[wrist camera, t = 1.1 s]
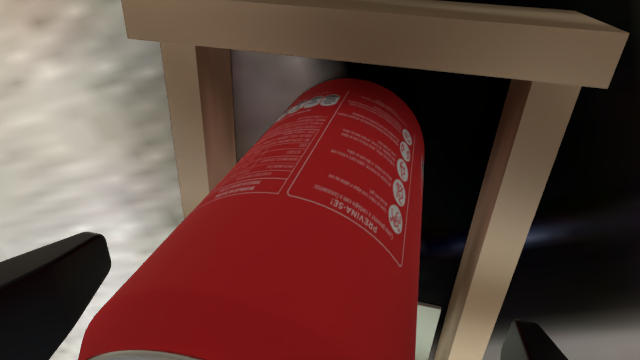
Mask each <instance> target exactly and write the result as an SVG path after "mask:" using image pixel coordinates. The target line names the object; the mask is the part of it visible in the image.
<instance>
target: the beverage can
mask: <svg viewBox="0 0 640 360" xmlns="http://www.w3.org/2000/svg"><path fill="white" fill-rule="evenodd" d="M423 175H424V139H423V134H422V131H421V128H420V125H419V123H418V121H417V119H416V117H415V115H414V114H413V112H412V111H411V109H410V108H409V107H408V106H407V105H406V103H405V102H404V101H403V100H402V99H400V98H399V97H398V96H397V95H396V94H394V93H393V92H391V91H390V90H388V89H386V88H385V87H383V86H380V85H378V84H376V83H373V82H370V81H366V80H361V79H353V78H342V79H334V80H329V81H326V82H323V83H320V84H318V85H316V86H314V87H312V88H310V89H309V90H307V91H306V92H304V93H303V94H302V95H301V96H300V97H298V98H297V100H296V101H295V102H294V103H293V104H292V105H291V106H290V107H289V108H288V109H287V110H286V111H285V112H284V113H283V114H282V116H281V117H280V118H279V119H278V120H277V121H276V122H275V123H274V124H273V125H272V126H271V127H270V128H269V129H268V131H267V132H266V133H265V134H264V135H263V136H262V137H261V138H260V139H259V140H258V141H257V142H256V143H255V144H254V146H253V147H252V148H251V149H250V150H249V151H248V152H247V153H246V154H245V155H244V156H243V157H242V158H241V159H240V161H239V162H238V163H237V164H236V165H235V166H234V167H233V168H232V169H231V170H230V171H229V172H228V173H227V174H226V176H225V177H224V178H223V179H222V180H221V181H220V182H219V183H218V184H217V185H216V186H215V187H214V188H213V189H212V191H211V192H210V193H209V194H208V195H207V196H206V197H205V198H204V199H203V200H202V201H201V202H200V203H199V204H198V206H197V207H196V208H195V209H194V210H193V211H192V212H191V213H190V214H189V215H188V216H187V217H186V218H185V219H184V221H183V222H182V223H181V224H180V225H179V226H178V227H177V228H176V229H175V230H174V231H173V232H172V233H171V234H170V235H169V237H168V238H167V239H166V240H165V241H164V242H163V243H162V244H161V245H160V246H159V247H158V248H157V249H156V250H155V252H154V253H153V254H152V255H151V256H150V257H149V258H148V259H147V260H146V261H145V262H144V263H143V264H142V265H141V267H140V268H139V269H138V270H137V271H136V272H135V273H134V274H133V275H132V276H131V277H130V278H129V279H128V280H127V282H126V283H125V284H124V285H123V286H122V287H121V288H120V289H119V290H118V291H117V292H116V293H115V294H114V295H113V297H112V298H111V299H110V300H109V301H108V302H107V303H106V304H105V305H104V306H103V307H102V308H101V309H100V310H99V312H98V313H97V314H96V315H95V316H94V318H93V319H92V321H91V322H90V324H89V326H88V328H87V329H86V331H85V334H84V337H83V340H82V345H81V349H80V354H79V358H78V360H415V349H416V327H417V305H418V284H419V262H420V240H421V218H422V197H423Z"/></svg>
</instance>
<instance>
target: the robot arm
mask: <svg viewBox="0 0 640 360" xmlns="http://www.w3.org/2000/svg"><path fill="white" fill-rule="evenodd" d="M110 268H111V258H110V255H109V251H108V247H107V243H106V239H105V237H104V236H103V235H101V234H97V233H92V232H82V233H79V234H77V235H74V236H71V237H68V238H66V239H63V240H60V241H57V242H55V243H52V244H49V245H46V246H44V247H41V248H38V249H35V250H33V251H30V252H27V253H24V254H22V255H19V256H16V257H13V258H10V259H8V260H5V261H2V262H0V360H49V359H50V358H51V356H52V355H53V354H54V352H55V351H56V350H57V349H58V347H59V346H60V345H61V343H62V342H63V341H64V340H65V338H66V337H67V336H68V334H69V333H70V331H71V330H72V329H73V327H74V326H75V324H76V323H77V321H78V320H79V318H80V317H81V315H82V314H83V312H84V310H85V309H86V307H87V306H88V304H89V303H90V301H91V300H92V298H93V296H94V295H95V293H96V292H97V290H98V289H99V287H100V285H101V284H102V282H103V281H104V279H105V278H106V276H107V274H108V273H109V271H110ZM501 360H568V359H567V358H566V357H565V355H564V354H563V353H562V352H561V351H560V350H559V348H558V347H557V346H556V345H555V344H554V342H553V341H552V340H551V339H550V338H549V337H548V335H547V334H546V333H545V332H544V331H543V329H542V328H541V327H540V326H539V325H538V324H536V323H534V322H529V321H524V320H519V319H516V320H514V321H513V322H512V323H511V325H510V328H509V330H508V333H507V335H506V338H505V341H504V343H503V346H502V349H501Z"/></svg>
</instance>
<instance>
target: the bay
mask: <svg viewBox="0 0 640 360" xmlns="http://www.w3.org/2000/svg"><path fill="white" fill-rule="evenodd" d="M121 2H122V8H123V14H124V19H125V25H126V31H127V37H128V38H129V39H138V40H148V41H157V42H160V46H161V53H162V61H163V68H164V75H165V82H166V90H167V97H168V104H169V112H170V119H171V126H172V133H173V141H174V148H175V155H176V162H177V170H178V177H179V184H180V192H181V199H182V206H183V213H184V219H185V218H186V217H187V216H188V215H189V214H190V213H191V212H192V211H193V210H194V209H195V208H196V207H197V206H198V204H199V203H200V202H201V201H202V200H203V199H204V198H205V197H206V196H207V195H208V194H209V193H210V192H211V191H212V189H213V188H214V187H215V186H216V185H217V184H218V183H219V182H220V181H221V180H222V179H223V178H224V177H225V176H226V174H227V173H228V172H229V171H230V170H231V169H232V168H233V167H234V166H235V165H236V164H237V162H236V145H235V127H234V110H233V93H232V75H231V58H230V49H233V50H243V51H252V52H262V53H271V54H281V55H290V56H300V57H309V58H319V59H328V60H338V61H347V62H357V63H366V64H376V65H385V66H395V67H404V68H414V69H423V70H433V71H442V72H452V73H461V74H471V75H480V76H490V77H499V78H509V79H511V82H510V86H509V89H508V93H507V97H506V100H505V104H504V107H503V111H502V115H501V118H500V122H499V125H498V129H497V133H496V136H495V140H494V144H493V147H492V151H491V154H490V158H489V162H488V165H487V169H486V172H485V176H484V180H483V183H482V187H481V190H480V194H479V198H478V201H477V205H476V208H475V212H474V216H473V219H472V223H471V227H470V230H469V234H468V237H467V241H466V245H465V248H464V252H463V255H462V259H461V263H460V266H459V270H458V273H457V277H456V281H455V284H454V288H453V291H452V295H451V299H450V302H449V306H448V310H447V313H446V317H445V320H444V324H443V328H442V331H441V335H440V338H439V342H438V346H437V349H436V353H435V356H434V360H482V358H483V355H484V353H485V350H486V347H487V345H488V342H489V339H490V336H491V334H492V331H493V328H494V325H495V323H496V320H497V317H498V314H499V312H500V309H501V306H502V303H503V301H504V298H505V295H506V292H507V290H508V287H509V284H510V281H511V279H512V276H513V273H514V270H515V268H516V265H517V262H518V259H519V257H520V254H521V251H522V248H523V246H524V243H525V240H526V237H527V235H528V232H529V229H530V226H531V224H532V221H533V218H534V215H535V213H536V210H537V207H538V204H539V202H540V199H541V196H542V194H543V191H544V188H545V185H546V183H547V180H548V177H549V174H550V172H551V169H552V166H553V163H554V161H555V158H556V155H557V152H558V150H559V147H560V144H561V141H562V139H563V136H564V133H565V130H566V128H567V125H568V122H569V119H570V117H571V114H572V111H573V108H574V106H575V103H576V100H577V97H578V95H579V92H580V89H581V86H585V87H594V88H604V89H608V86H609V84H610V81H611V79H612V76H613V74H614V71H615V69H616V66H617V64H618V61H619V59H620V56H621V54H622V51H623V49H624V46H625V44H626V41H627V38H628V36H629V33H627V32H625V31H623V30H620V29H618V28H615V27H613V26H610V25H608V24H606V23H603V22H601V21H598V20H596V19H594V18H591V17H589V16H586V15H584V14H581V13H579V12H577V11H572V10H559V9H545V8H532V7H519V6H505V5H492V4H479V3H465V2H452V1H439V0H121ZM440 312H441V306H436V305H431V304H427V303H422V302H418V305H417V327H416V349H415V360H428V357H429V353H430V350H431V346H432V342H433V338H434V335H435V331H436V327H437V323H438V320H439V316H440Z"/></svg>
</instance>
